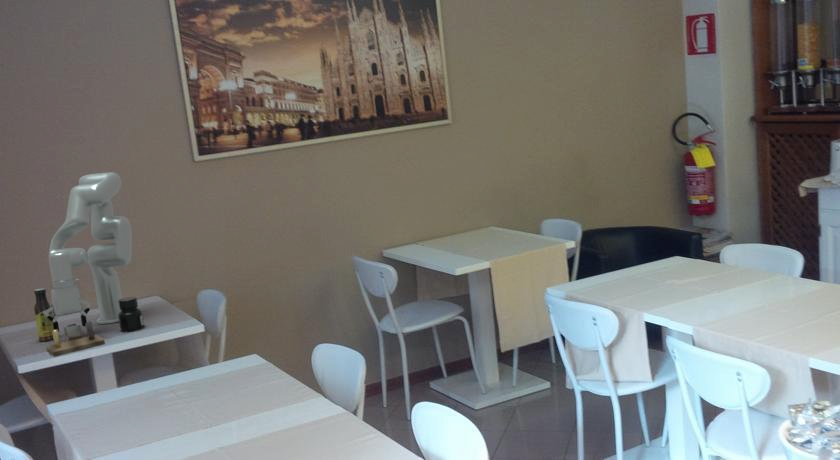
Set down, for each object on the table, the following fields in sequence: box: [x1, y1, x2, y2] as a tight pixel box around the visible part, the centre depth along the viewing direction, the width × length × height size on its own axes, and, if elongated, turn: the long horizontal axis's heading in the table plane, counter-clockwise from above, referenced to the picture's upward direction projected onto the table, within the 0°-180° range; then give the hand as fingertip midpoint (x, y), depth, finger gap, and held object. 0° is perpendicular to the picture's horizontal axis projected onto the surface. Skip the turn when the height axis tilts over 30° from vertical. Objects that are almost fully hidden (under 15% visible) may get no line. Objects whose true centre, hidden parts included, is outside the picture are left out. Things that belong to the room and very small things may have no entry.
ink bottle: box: [118, 296, 145, 333], centre depth 351 cm, size 10×9×12 cm
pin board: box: [45, 320, 106, 357], centre depth 333 cm, size 18×12×8 cm, turn 123°
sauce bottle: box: [33, 287, 54, 342], centre depth 349 cm, size 6×6×20 cm
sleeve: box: [62, 322, 83, 342], centre depth 343 cm, size 5×5×6 cm
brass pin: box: [52, 329, 62, 348], centre depth 330 cm, size 2×2×8 cm
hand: (70, 328), depth 342 cm, fingers open, 9 cm apart
